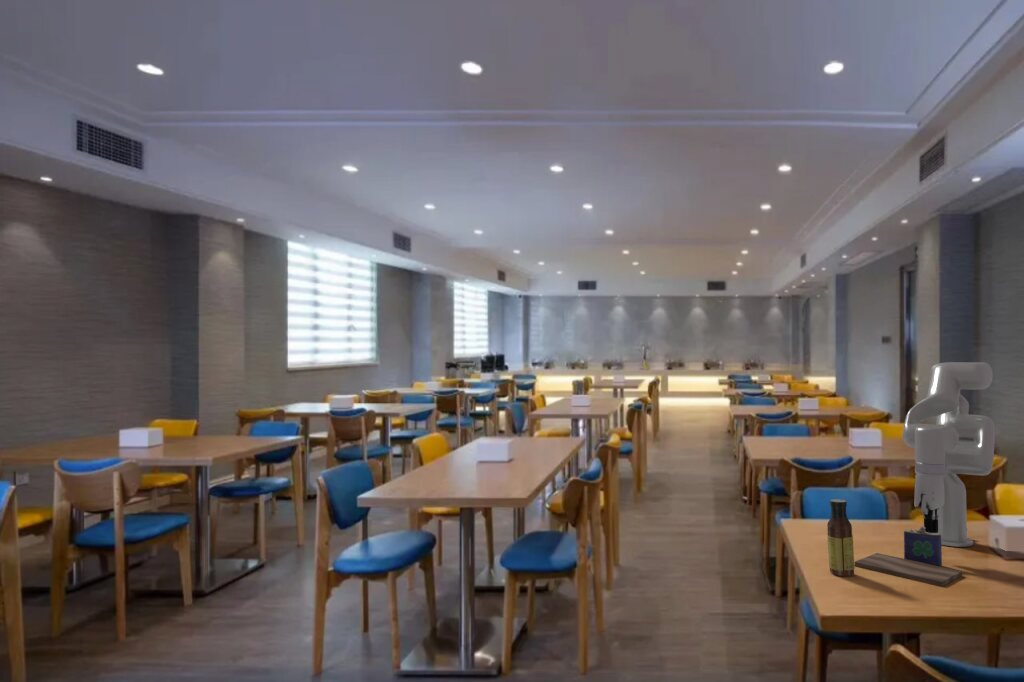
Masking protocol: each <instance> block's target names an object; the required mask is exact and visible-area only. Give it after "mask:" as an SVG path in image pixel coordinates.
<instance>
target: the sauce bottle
mask: <svg viewBox="0 0 1024 682" xmlns="http://www.w3.org/2000/svg"><path fill="white" fill-rule="evenodd" d="M829 505H830V509H831V510H830V516H831V517H830V519H829V520H828V522H827V549H828V550H827V551H828V552H827V553H828V565H829V572H830V573H831V574H833V575H835V576H838V577H846V578H847V577H853V576H854V575H855V567H856V566H855V551H854V549H855V548H854V537H853V536H854V535H853V528H852V527H853V526H852V524H851V521H850V520H849V518H848V515H847V506H848V503H847V500H845V499H838V498H837V499H834V498H833V499H830V500H829Z"/></svg>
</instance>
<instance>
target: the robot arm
mask: <svg viewBox="0 0 1024 682" xmlns="http://www.w3.org/2000/svg"><path fill="white" fill-rule="evenodd" d="M929 376H930V379H929V385H928V389H927V395H926V397H925V398H923V399H922V400H920V401H919V402H917V403H916V404H915V405H913V406H912V407H911V408H910V409H909V410H908V412H907V414H906V415H905V419H904V422H903V423H904V424H903V427H902V428H903V429H902V440H903V442H904V444H905V445H906V446H907V447H909V448H912V449H913V448H914V456H915V457H914V464H915V465H914V467H915V468H914V469H915V470H914V471H915V472H914V473H915V474H916V475H915V476H916V477H915V480H914V481H915V482H914V484H915V485H914V503H913V504H914V505H913V506H914V507H915V509H916V508H917V509H918V508H919V509H920V508H921V509H920V513H921V514H922V515H923V516H922V517H923V527H926V529H925V531H926V533H938V534H940V535H941V546H948V547H954V548H955V547H957V548H966V547H967V548H968V547H972V546H973V545H974V541H973V540H972V539H970V538H969V537H968V527H967V521H968V520H967V489H966V485H965V483H964V482H963V481H962V480H961V478H960V477H959V475H972V476H982V477H983V476H987V475H989V474H991V472H992V470H993V467H994V455H995V454H994V453H995V440H996V429H995V428H996V427H995V423H994V421H993V419H992V418H991V417H990V416H987V415H983V414H982V415H981V414H969V410H970V409H969V408H970V404H969V401H968V400H967V399H966V398H965V397H964V396H963V395H962V394H961V390H971V391H973V390H974V391H975V390H977V391H979V390H986V389H988V388H989V387H990V386H991V384H992V382H993V379H994V378H993V377H994V372H993V368H992V367H991V365H990V364H989V363H987V362H981V361H980V362H979V361H978V362H977V361H975V362H973V361H971V362H970V361H969V362H968V361H967V362H965V361H962V362H961V361H958V362H956V361H950V362H949V361H947V362H940V363H936V364H934V365H933V366H931V368H930V374H929ZM934 417H936V424H934V423H922V422H923V421H925V420H928V419H930V418H934Z"/></svg>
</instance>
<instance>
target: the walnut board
mask: <svg viewBox="0 0 1024 682" xmlns="http://www.w3.org/2000/svg"><path fill="white" fill-rule="evenodd" d="M854 567H858V568H861V569H864V570H865V569H866V570H871V571H874V572H879V573H883V574H886V575H887V574H888V575H892V576H896V577H899V578H904V579H908V580H912V581H913V580H914V581H917V582H921V583H925V584H929V585H934V586H938V587H944V586H946V585H948V584H949V583H951V582H953V581H955V580H957V579H959V578H961V577H962V576H963V571H962V570H959V569H958V570H957V569H954V568H949V567H944V566H941V567H940V566H935V565H931V564H926V563H922V562H917V561H912V560H908V559H904V558H902V557H899V556H898V557H897V556H893V555H889V554H883V553H879V552H876V553H873V554H870V555H868V556H866V557H863V558H861V559H858V560H854Z"/></svg>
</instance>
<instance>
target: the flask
mask: <svg viewBox="0 0 1024 682" xmlns="http://www.w3.org/2000/svg"><path fill="white" fill-rule="evenodd" d="M919 527H920V528H919V529H918V530H917V529H912V528H910V529H908V530H907V529H906V530H904V531H903V543H904V545H903V546H904V547H903V554H904V555H903V557H904V558H903V559H908V560H912V561H917V562H922V563H926V564H931V565H935V566H940V567H943V560H942V558H943V557H942V555H943V554H942V553H943V552H942V545H941V535H940V534H938V533H928V532H926V531H925V529H926V527H924V525H922V526H921V525H920V526H919Z"/></svg>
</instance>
